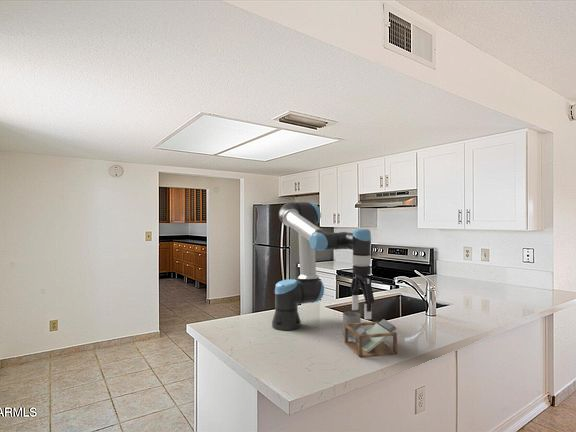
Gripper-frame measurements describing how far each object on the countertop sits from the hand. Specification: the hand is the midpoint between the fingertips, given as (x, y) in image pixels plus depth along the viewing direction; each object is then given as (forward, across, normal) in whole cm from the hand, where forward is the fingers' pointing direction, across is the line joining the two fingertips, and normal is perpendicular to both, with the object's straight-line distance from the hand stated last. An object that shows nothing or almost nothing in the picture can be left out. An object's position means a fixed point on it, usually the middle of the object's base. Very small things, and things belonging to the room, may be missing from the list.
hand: (361, 314), depth 152 cm
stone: (+12, 0, -1) cm, 12 cm away
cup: (+15, +17, -3) cm, 23 cm away
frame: (+15, -1, -4) cm, 15 cm away
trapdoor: (+10, -1, -7) cm, 12 cm away
